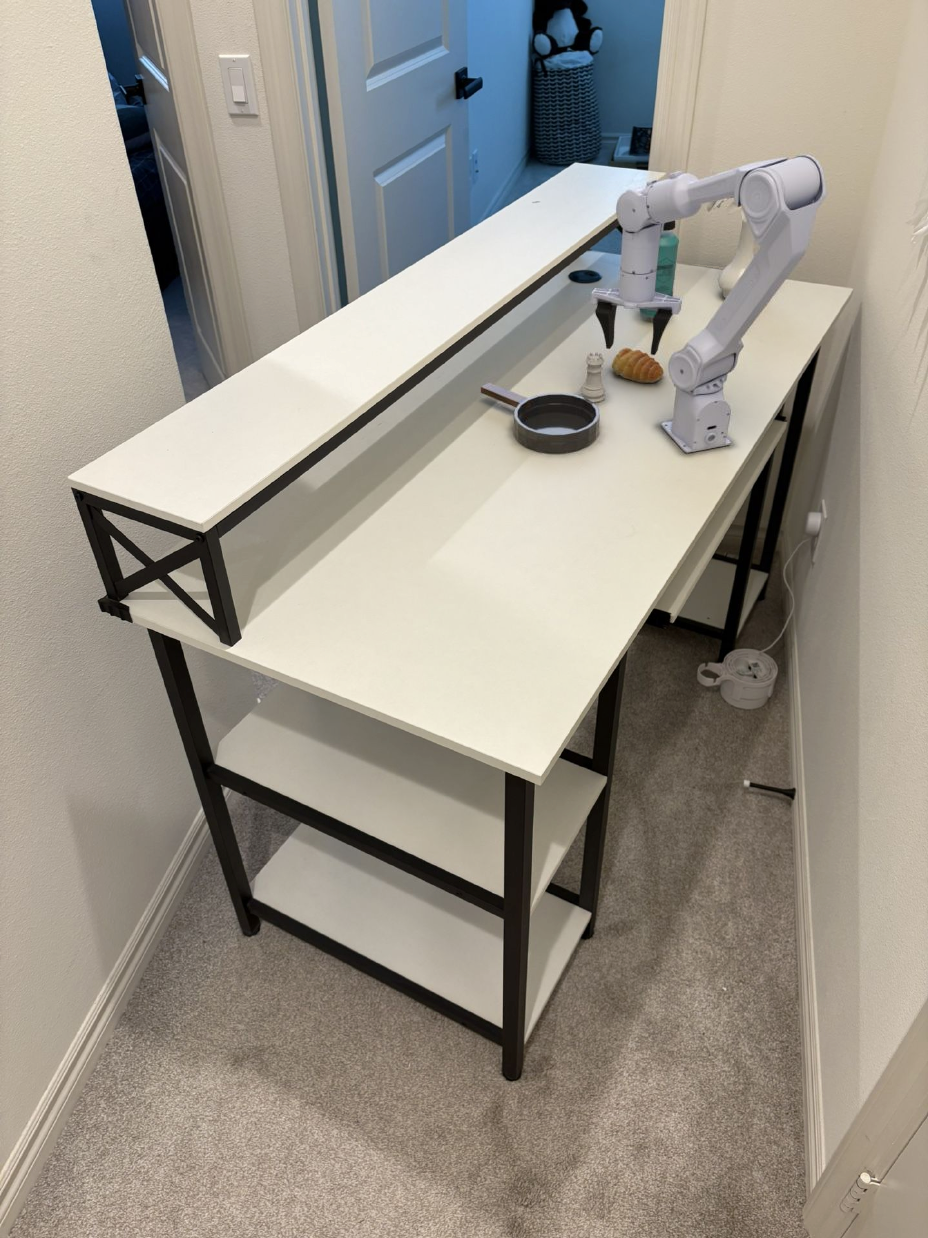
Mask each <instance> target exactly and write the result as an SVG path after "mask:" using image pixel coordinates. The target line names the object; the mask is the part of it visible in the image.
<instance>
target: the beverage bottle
mask: <svg viewBox="0 0 928 1238" xmlns="http://www.w3.org/2000/svg"><path fill="white" fill-rule="evenodd" d="M675 228H676V220H675V221H671V222H667V223H664V227H663V232H662V233H661V235H660V240H659V251H658V261H657V272H656V282H655V292H657V293H661V294H664V295H668V296H671V297H674V292H675V291H674V290H675V289H674V285H675V278H676V269H677V257H678V249H679V242H680V240H679V237H678V236H677V235H676V234H674V232H671V231H673V230H674V229H675ZM638 309H639V313H640V314H641V315H642V316H645V317H648V318H653V317H654V316H655V314H656V313H657V311H658V310H650V309H642V308H638Z"/></svg>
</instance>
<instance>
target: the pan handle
mask: <svg viewBox="0 0 928 1238" xmlns="http://www.w3.org/2000/svg"><path fill="white" fill-rule="evenodd" d="M480 394H482V395H485V396H487V397H490V398H492V399H494V400H497V401H499V402H501V403H504V404H507V405H509V406H511V407H513V408H515V409H516V407H517V406H518V405H519V404H520V403H521V402H523V401H524V400H526V399H528V398H529V397H526V396H523V395H521V394H518V393H516V392H513V391H511V390H509V389H506V388H504V387H501V386H500V385H497V384H494V383H493V382H487V383H485V384H484V385H481V386H480ZM529 407H530V401H528V402H527V403H526V409H527V408H529Z"/></svg>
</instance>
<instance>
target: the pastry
mask: <svg viewBox="0 0 928 1238" xmlns="http://www.w3.org/2000/svg"><path fill="white" fill-rule="evenodd" d="M611 369H612V370H613V371H614V373H615V375H617V376H619V375H620V376H621V377H622V379H623V378H624V379H627V380H630V381H632V382H637V383H641V384H645V383H656V382H657V381H658V380H661V379H662V377H663V375H664V369H663V368H662V366H661V364H660V363H659V362H658V361H656V360H655V358H654V357H651V355H649V354H648V352H643V351H641V350H640V349H635V350H633V349H631V348H629V347H625V348H622V349H621V350H620V351H619V352H618V353H617V354H616V355H615V357H614V358H613V360H612V363H611Z"/></svg>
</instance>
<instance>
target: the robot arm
mask: <svg viewBox="0 0 928 1238" xmlns="http://www.w3.org/2000/svg"><path fill="white" fill-rule="evenodd" d="M730 169H731V168H730ZM730 169H728V170H726V171H723V172H720V173H717V174H716V173H715V174H716V175H713V176H711V175H710V176H707V177H705V178H701V179H699V178H698V177H697V176H696V175H694V174H692V173H687V172H685V173H683V170H677V171H675V172H671V173H669V175H668V177H669V178H665V179H663V180H660V181H658V179H652V180H649V181H647V182H646V185H643V186H640V187H637V188H633V189H627V190H626V191H625V192H623V193H622V194H621V195H619V198H618V199H617V201H616V206H615V215H616V218H617V219H616V220H617V221H618V223H619V226H620V227H621V228H622V236H621V252H620V265H619V267H620V268H619V283H618V288H597V287H595V288H594V289H592V291H591V293H590V305H595V306H596V308H595V310H594V312H595V313H594V314H595V316H596V318H597V320H598V323H599V324H600V327H601V329H602V333H603V337H604V341H605V342H604V343H605V349H608V350H610V349H611V348H612V347H613V345H614V343H615V326H616V325H615V324H616V316H617V310H618V309H617V308H618V307H623V309H627V310H636V309H639V308H642V309H650V310H658V311H657V313H656V314H655V316H654V317H652V339H651V346H650V356H655V355H657V352H658V351H659V347H660V343H661V340H662V337H663V334H664V333H665V332H664V331H665V330H666V328H667V326H668V324H669V322H670V321H671V318H672V317H673V315H676V316H677V315H679V314H680V312H681V310H682V305H683V298H682V297H676V296H673V297H671V296H668V295H664V294H661V293H657V292H655V282H656V272H657V261H658V251H659V240H660V235H661V233H662V232H663V227H664V223H667V222H671V221H675V222H676V221H678V220H683V219H687V218H691V217H693V216H695V215H696V214H697V213H699V211H700V209H701V208H702V205H703V204H708V202H712V201H717V200H721V199H726V198H729V199H732V198H731V197H734V198H733V202H735V206H736V207H740V206H742V209H743V212H744V214H745V217H746V219H747V222H748V224H749V226H750V229H751V231H752V234H753V236H754V238H755V244H756V245H758V247H759V246H760V247H759V249H758V251H757V252H756V253H755V257H754V258H753V260H752V261H751V262H750V264H749V265H748V267H747V268H746V270H745V271H744V273H743V274H742V275H741V277H740V278H739V280H738V281H737V283H736V284H735V286H734V287H733V289H732V290H731V291H730V293H729V294H728V296H727V297H726V298H724V300H723V302H722V303H721V304H720V306H719V307H718V308H717V310H716V312H715V313H714V315H713V316H712V317H711V319H710V320H709V321H708V323H707V325H706V326H705V328H704V329H702V330H701V331H700V332H699V333H697V334H696V335H695V336H693V337H692V338H691V339H689V340H688V341H687V342H686V344H685V345H684V347H683V348H680V349H678V350H676V351H675V352H673V353H672V354H671V356H670V357H669V360H668V364H667V365H668V366H667V367H668V368H667V369H668V374H669V378H670V380H671V381H672V384H673V387H675V395H674V402H673V411H672V412H673V413H672V420H670V421H665V422H662V423H661V427H662V429H663V430H664V431H665V432H666V433H667V434H668V435H669V436H670V437H671V439H672V440H673V441H674V442H675V443H676V444H677V445H678V446H679V448H680V449H681V450H682V451H683V452H684V453H686V454H689V453H693V452H698V451H704V450H709V449H714V448H719V447H720V448H721V447H725V446H729V445H731V440H730V439H729V438H728V432H729V431H728V430H729V424H730V420H731V412H732V411H731V407H730V404H729V403H728V401H727V400H726V398H725V395H724V384H725V383H726V382H727V380H728V374H730V373H731V372H733V371H734V370H735V368H736V366H737V364H738V360H739V356H740V353H741V351H742V350H743V348H745V345H744V342H743V340H742V338H743V337H744V336H745V334H746V333H747V332H748V331H749V329H750V328H751V327H752V326H753V324H754V323H755V321H756V320H757V318H758V317H759V316H760V314H761V313H762V312H763V310H764V309H765V308H766V307H767V305H768V304H769V303H770V301H771V300H772V299H773V298H774V296H775V295H776V293H777V292H778V291H779V290H780V288H781V287H782V286H783V284H784V283H785V281H786V280H787V279H788V278H789V276H790V275H791V273H792V272H793V271H794V270H795V268H796V267H797V266H798V264H799V263H800V262H801V260H802V259H803V257H804V256H805V254H806V253H807V251H808V247H809V245H810V240H811V236H812V232H813V228H814V225H815V224H814V223H815V220H816V216H817V212H818V209H819V208H820V206H821V205H822V204H823V202H824V200H825V199H826V197H827V195H828V194H827V193H828V192H827V186H826V181H825V179H826V178H825V173H824V168H823V166H822V164H821V163H820V161H819V160H818V159H817V158H816V157H814V156H812V155H810V154H799V155H796V156H794V157H792V158H791V159H789V157H787V156H786V157H778V158H777V157H776V158H771V159H766V160H760V161H754V162H751V163H747V164H744V165H741V166H738V167H735V168H732V169H731V170H730ZM742 209H741V210H742Z"/></svg>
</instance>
